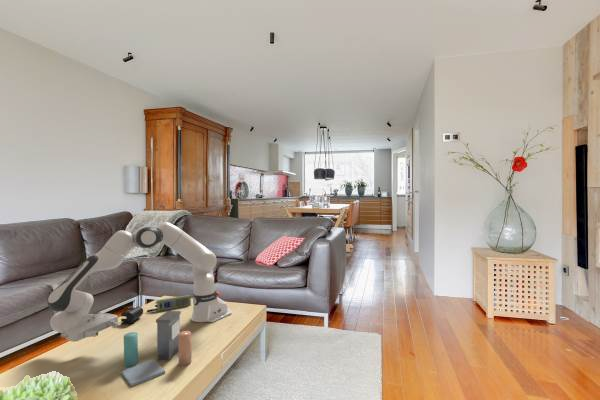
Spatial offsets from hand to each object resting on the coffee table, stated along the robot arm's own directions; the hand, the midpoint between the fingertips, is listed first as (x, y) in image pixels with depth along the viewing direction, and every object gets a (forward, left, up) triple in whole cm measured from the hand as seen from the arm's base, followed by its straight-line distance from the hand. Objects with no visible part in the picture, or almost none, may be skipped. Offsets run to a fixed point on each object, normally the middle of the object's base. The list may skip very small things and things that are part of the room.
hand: (107, 329), depth 131 cm
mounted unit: (-20, +15, -13) cm, 28 cm away
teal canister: (-6, +11, -13) cm, 18 cm away
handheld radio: (-43, -41, -13) cm, 61 cm away
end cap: (-21, -37, -13) cm, 44 cm away
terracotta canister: (-22, +26, -13) cm, 36 cm away
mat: (-7, +22, -13) cm, 26 cm away
